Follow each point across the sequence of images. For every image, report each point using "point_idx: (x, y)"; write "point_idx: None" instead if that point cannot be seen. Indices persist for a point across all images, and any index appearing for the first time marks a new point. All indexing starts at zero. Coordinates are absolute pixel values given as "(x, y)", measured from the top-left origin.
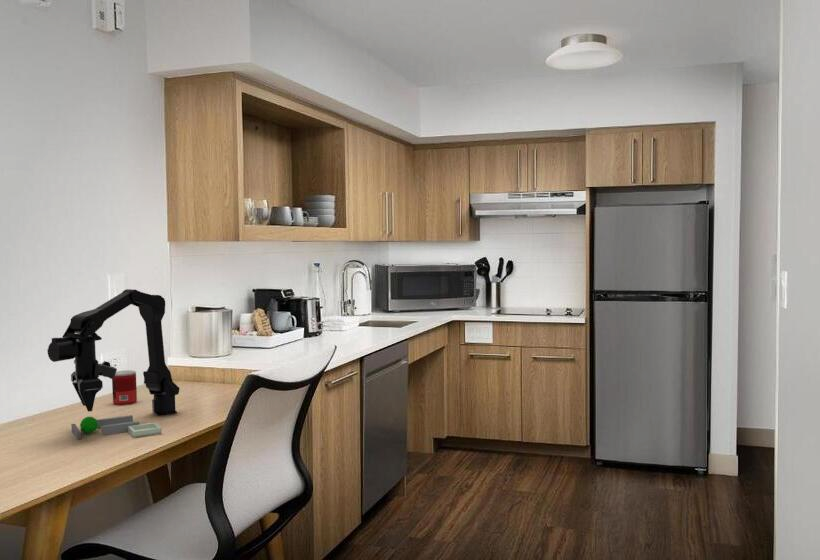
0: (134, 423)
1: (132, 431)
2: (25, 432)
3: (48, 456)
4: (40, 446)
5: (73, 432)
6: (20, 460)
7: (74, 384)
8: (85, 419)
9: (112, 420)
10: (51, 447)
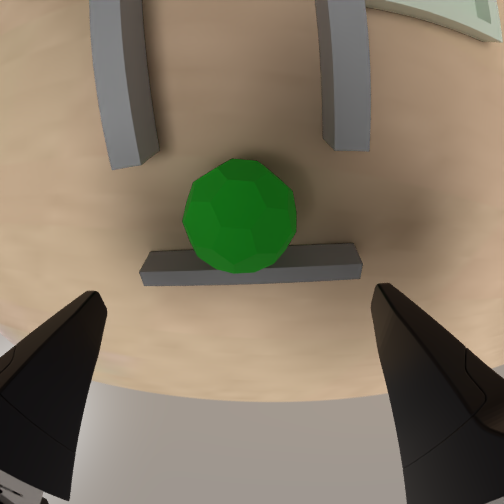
0: None
1: (485, 34)
2: (136, 367)
3: (470, 329)
4: (355, 353)
5: None
6: None
7: (64, 494)
8: (255, 261)
9: (130, 65)
10: None
